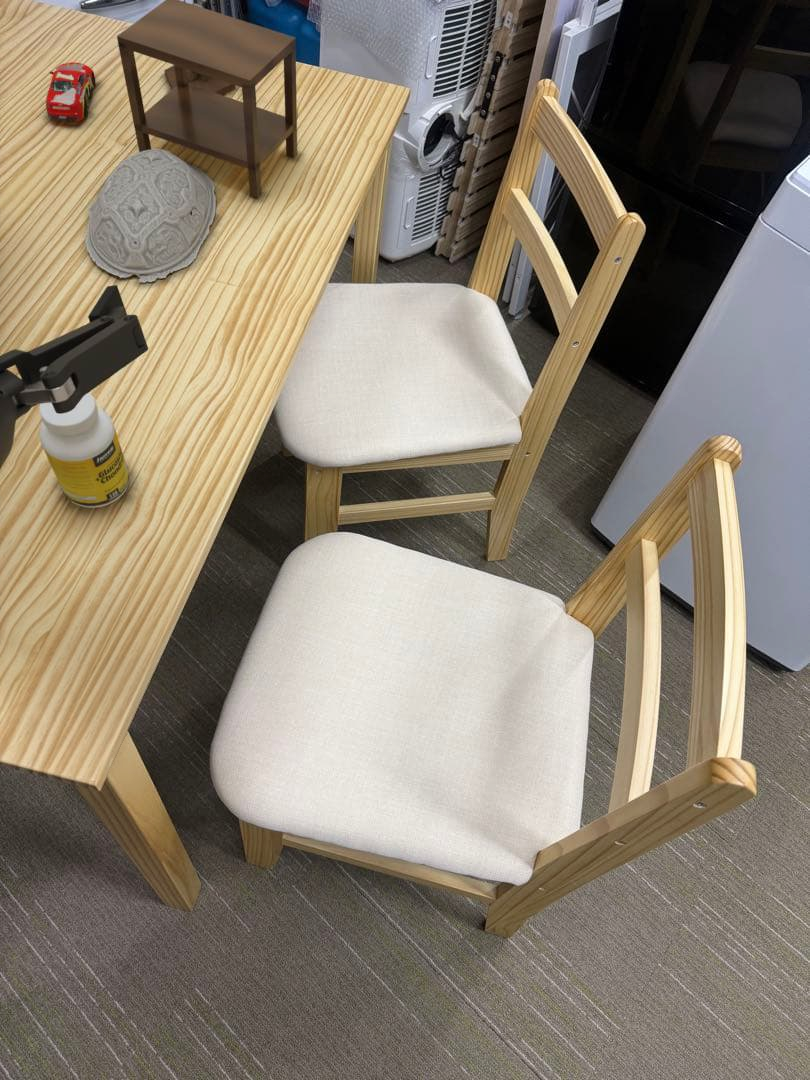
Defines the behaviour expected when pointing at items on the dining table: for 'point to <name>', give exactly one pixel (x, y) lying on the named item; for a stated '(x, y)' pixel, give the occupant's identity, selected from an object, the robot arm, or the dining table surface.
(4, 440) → the robot arm
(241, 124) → the rack
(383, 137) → the dining table surface
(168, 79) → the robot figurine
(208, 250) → the dining table surface
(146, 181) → the grey domed shell
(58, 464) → the pill bottle
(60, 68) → the race car
